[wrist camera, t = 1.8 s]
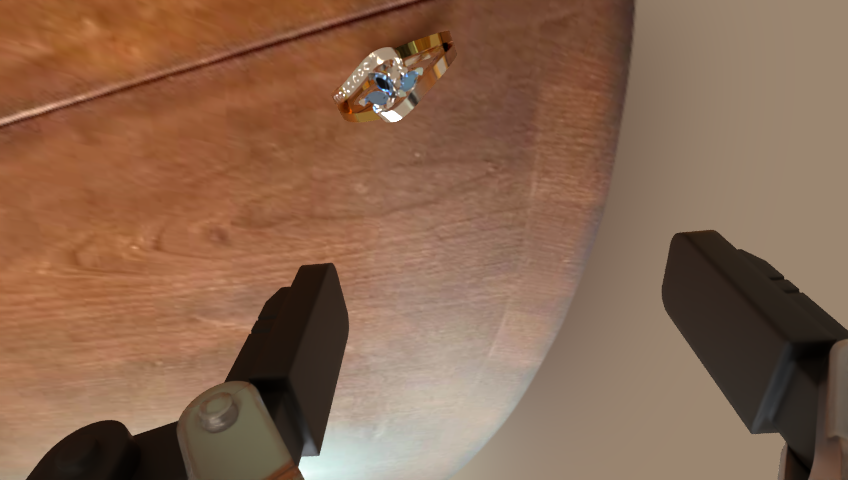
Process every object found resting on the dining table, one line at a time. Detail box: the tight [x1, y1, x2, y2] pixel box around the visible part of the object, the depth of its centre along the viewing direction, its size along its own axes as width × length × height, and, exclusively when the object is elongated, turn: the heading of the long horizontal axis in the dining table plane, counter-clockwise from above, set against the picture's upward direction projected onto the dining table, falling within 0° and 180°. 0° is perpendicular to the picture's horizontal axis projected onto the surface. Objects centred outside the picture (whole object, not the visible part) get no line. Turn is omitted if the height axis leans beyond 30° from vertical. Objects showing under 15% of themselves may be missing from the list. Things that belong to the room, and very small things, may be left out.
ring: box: [331, 31, 457, 122], centre depth 23 cm, size 7×3×8 cm, turn 112°
